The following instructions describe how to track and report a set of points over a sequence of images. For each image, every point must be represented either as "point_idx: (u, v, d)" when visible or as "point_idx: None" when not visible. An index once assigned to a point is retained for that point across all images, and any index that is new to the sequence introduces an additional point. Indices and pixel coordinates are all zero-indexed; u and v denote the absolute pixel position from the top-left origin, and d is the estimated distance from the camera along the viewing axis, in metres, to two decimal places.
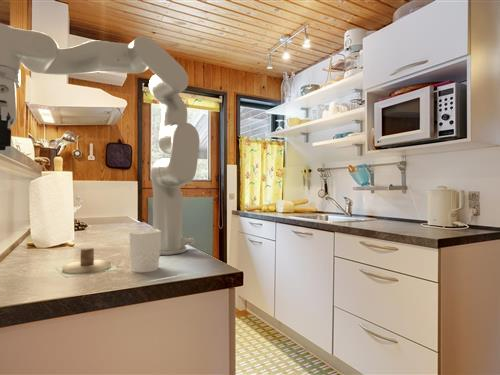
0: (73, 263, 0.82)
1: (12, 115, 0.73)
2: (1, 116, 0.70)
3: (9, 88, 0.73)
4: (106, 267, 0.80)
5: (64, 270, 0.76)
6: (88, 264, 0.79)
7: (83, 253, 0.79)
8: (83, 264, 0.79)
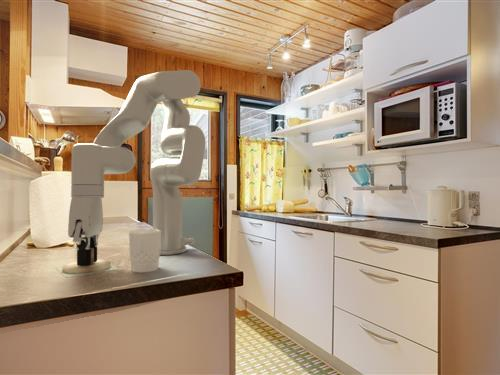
0: (73, 263, 0.82)
1: None
2: None
3: None
4: (106, 267, 0.80)
5: (64, 270, 0.76)
6: None
7: None
8: None
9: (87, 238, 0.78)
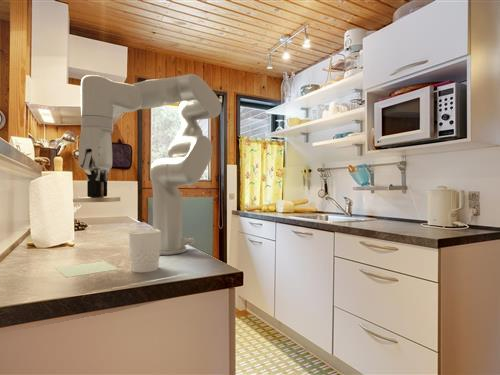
0: (83, 197, 0.82)
1: None
2: None
3: None
4: (116, 199, 0.80)
5: (75, 199, 0.76)
6: None
7: None
8: None
9: (97, 169, 0.78)
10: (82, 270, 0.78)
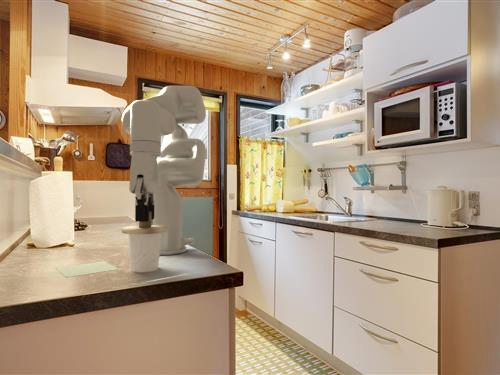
0: None
1: None
2: None
3: None
4: (165, 229, 0.80)
5: (126, 231, 0.76)
6: (147, 226, 0.79)
7: None
8: (142, 226, 0.79)
9: (146, 193, 0.77)
10: (82, 270, 0.78)
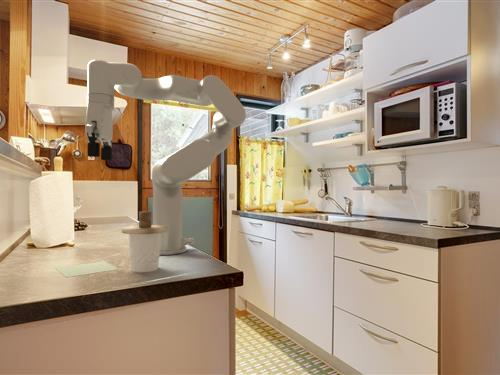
0: (130, 226, 0.82)
1: None
2: None
3: None
4: (165, 229, 0.80)
5: (126, 231, 0.76)
6: (147, 226, 0.79)
7: (142, 215, 0.79)
8: (142, 226, 0.79)
9: (98, 134, 0.92)
10: (82, 270, 0.78)
